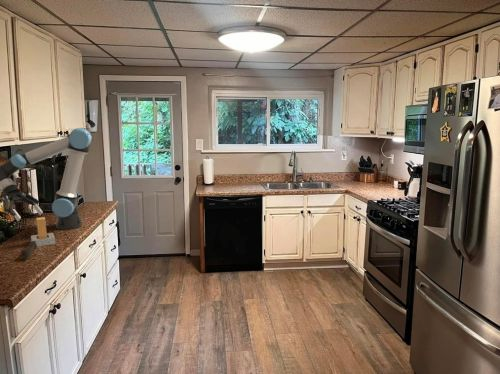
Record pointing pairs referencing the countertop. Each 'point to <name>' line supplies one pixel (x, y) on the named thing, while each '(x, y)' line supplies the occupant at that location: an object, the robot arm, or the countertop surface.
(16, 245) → the countertop surface
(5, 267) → the countertop surface
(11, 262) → the countertop surface
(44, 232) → the orange rectangular block
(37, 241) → the square frame
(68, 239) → the countertop surface
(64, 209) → the robot arm
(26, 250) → the hand tool
